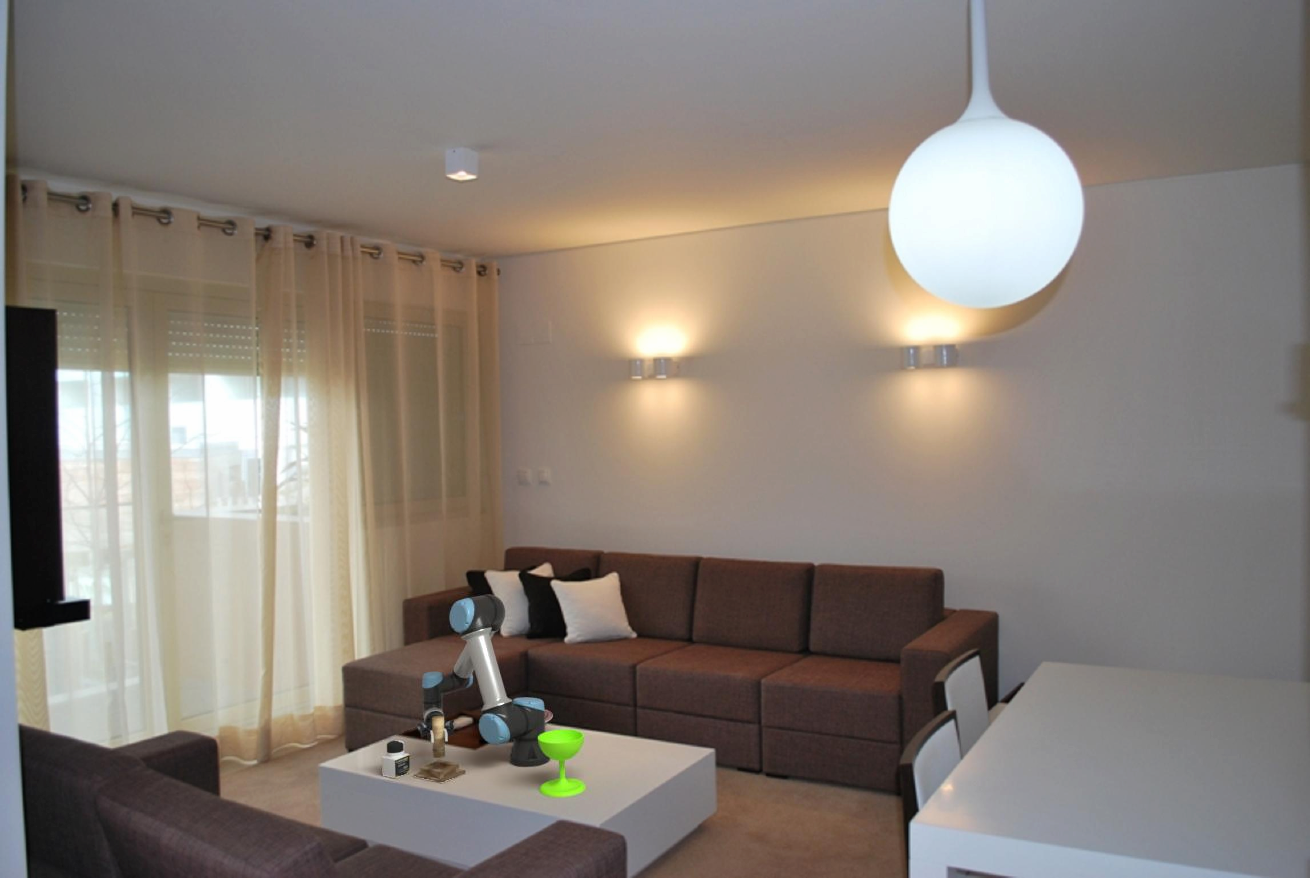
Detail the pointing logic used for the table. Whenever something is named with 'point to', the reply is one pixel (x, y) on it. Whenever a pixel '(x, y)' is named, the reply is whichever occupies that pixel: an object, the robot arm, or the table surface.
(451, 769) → the brown stepped square base
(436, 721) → the oak dowel
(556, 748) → the wineglass
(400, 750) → the medicine bottle
